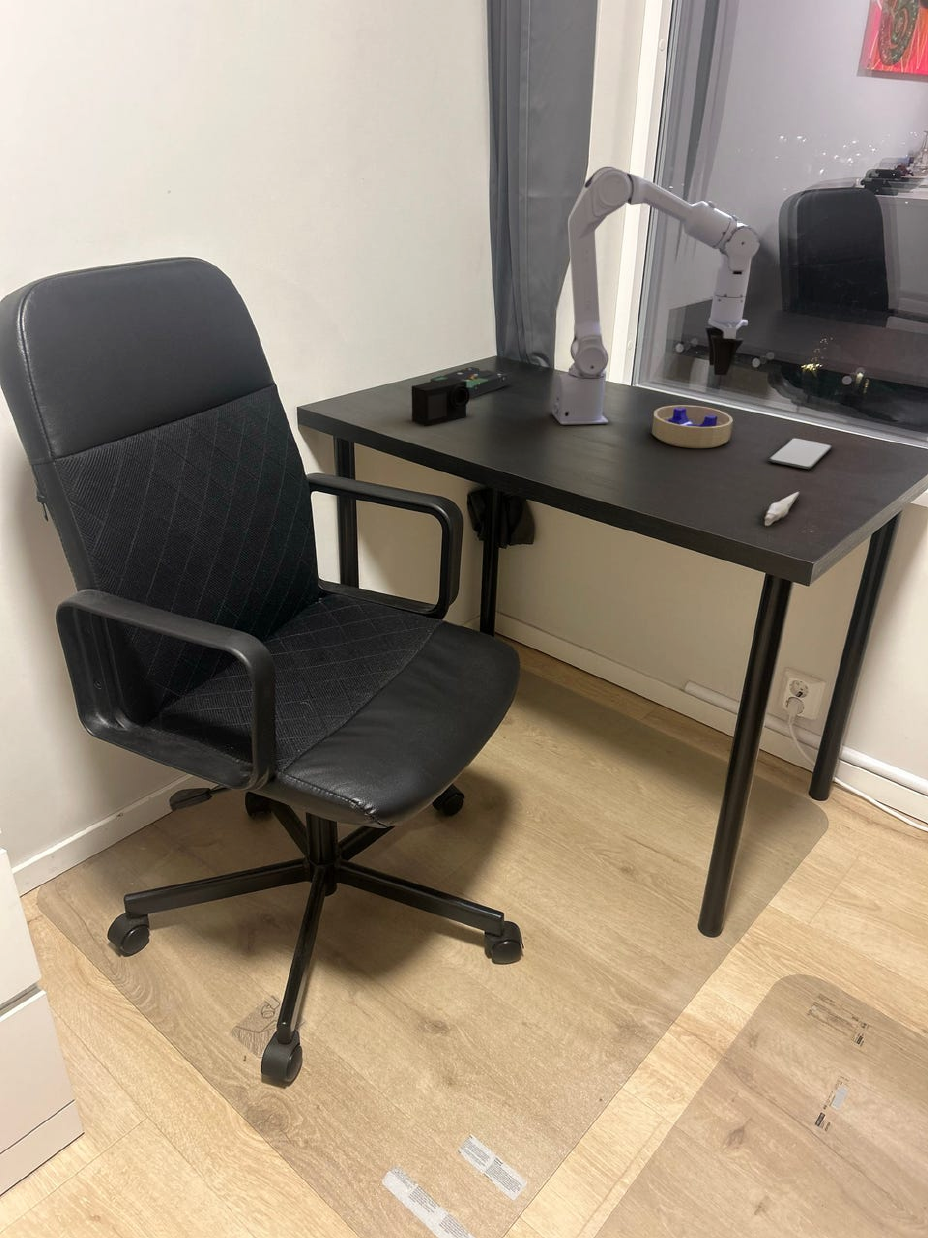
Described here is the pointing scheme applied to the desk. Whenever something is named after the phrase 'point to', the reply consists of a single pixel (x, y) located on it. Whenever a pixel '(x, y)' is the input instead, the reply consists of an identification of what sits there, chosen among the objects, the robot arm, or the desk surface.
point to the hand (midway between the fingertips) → (717, 369)
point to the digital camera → (439, 401)
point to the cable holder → (682, 419)
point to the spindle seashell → (779, 509)
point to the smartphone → (800, 453)
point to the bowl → (692, 427)
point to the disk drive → (477, 380)
